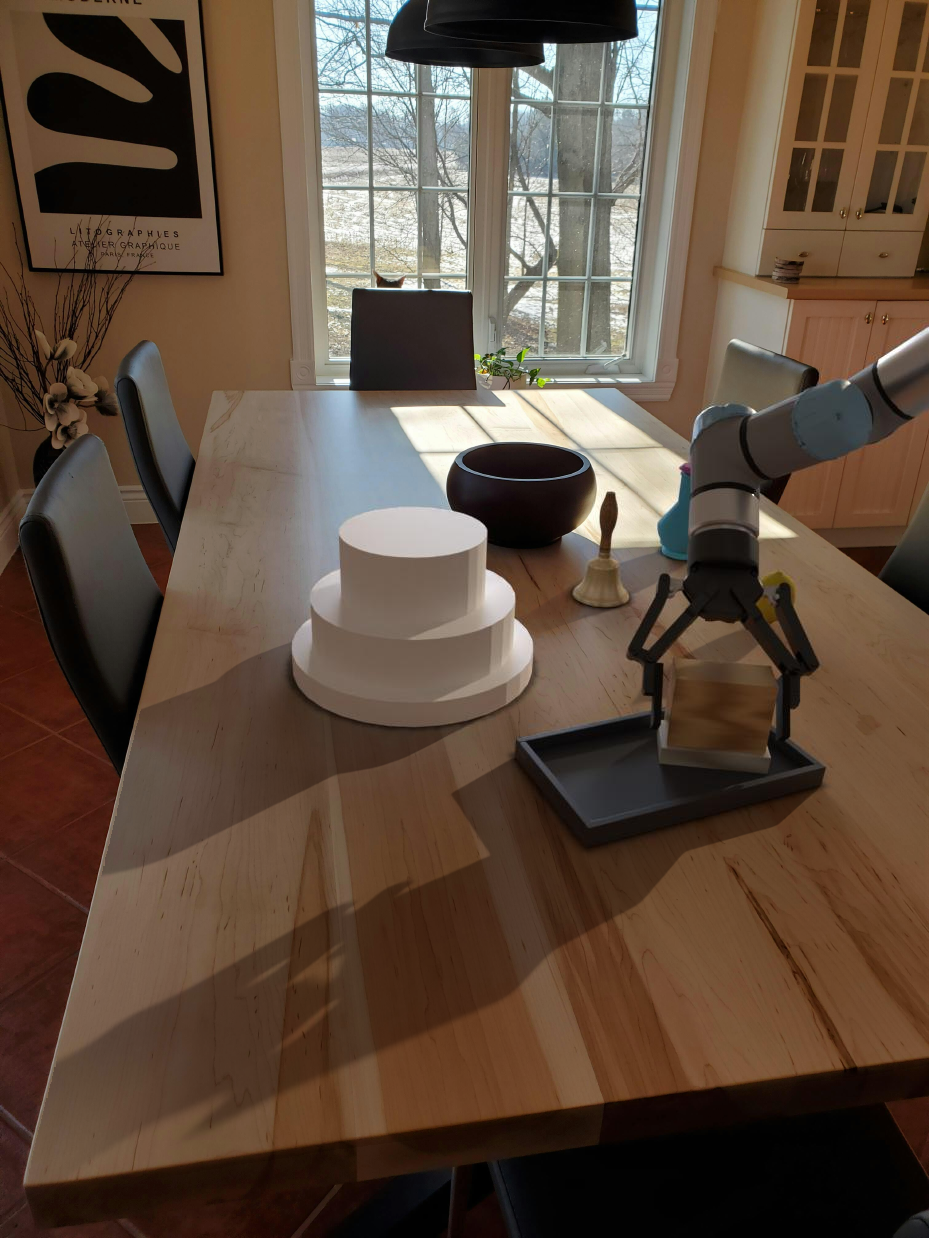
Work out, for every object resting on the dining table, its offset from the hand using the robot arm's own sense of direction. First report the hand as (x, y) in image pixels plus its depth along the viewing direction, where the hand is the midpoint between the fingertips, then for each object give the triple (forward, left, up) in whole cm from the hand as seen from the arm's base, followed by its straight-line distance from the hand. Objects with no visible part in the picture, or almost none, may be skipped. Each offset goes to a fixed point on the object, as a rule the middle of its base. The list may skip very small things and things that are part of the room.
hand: (718, 733), depth 91 cm
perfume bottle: (+54, -34, -5) cm, 64 cm away
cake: (+33, +21, -5) cm, 40 cm away
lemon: (+27, -30, -5) cm, 41 cm away
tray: (+2, +4, -5) cm, 7 cm away
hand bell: (+43, -12, -5) cm, 45 cm away
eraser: (+2, -1, -4) cm, 5 cm away
